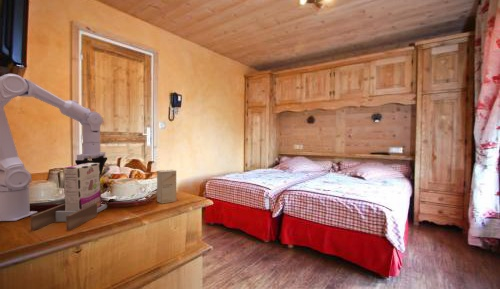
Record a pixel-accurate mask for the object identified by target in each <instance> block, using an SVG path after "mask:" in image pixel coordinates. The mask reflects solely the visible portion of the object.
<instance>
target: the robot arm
mask: <svg viewBox="0 0 500 289" xmlns="http://www.w3.org/2000/svg"><path fill="white" fill-rule="evenodd" d="M17 97H23V98H24V97H26V98H28V97H29V98H35V99H37V100H39V101H41V102H43V103H46V104H48V105H51V106H52V107H54V108H58V109H59V111H60V113H61V115H64V116H66V117H69V118H70V119H73V120H74V121H77V122H79V123H80V125H81V126H82V146H83V147H82V153H80V154H76V159H75V160H74V162H75V164H76V165H80V164H85V163H100V164H99V166H100V176H102V175H103V171H104V167H105V164H106V163H107V161H108V157H107V156H106V152H104V151H101V126H102V125H103V122H104V119H103V117H102V115H101V114H100V113H98V111H91V109H90V108H89V107H84V106H82V105H81V104H79V102H78V100H71V99H68V100H64V99H62V98H60V97H59V96H57V95H55V94H53V93H52V92H50V91H49V90H46V89H45V88H43V87H41V86H40V85H37V84H36V83H35V82H33V81H32V80H30V79H27V78H24V77H23V76H20V75H19V74H15V73H7V74H3V75H1V76H0V222H16V221H18V220H22V219H23V218H24V219H25V218H27V217H29V216H32V215H35V214H37V213H38V211H37V210H36V211H35V210H31V208H30V204H31V203H30V184H31V181H32V174H31V173H30V172H29V171H28V170H27V169H26V167H25V164H24V163H23V161H22V160H21V158H20V157H19V154H18V151H17V147H16V144H15V141H14V138H13V135H12V132H11V128H10V126H9V125H10V124H9V121H8V118H7V115H6V112H5V109H4V108H5V106H6V105H7V104H8V103H9V102H11V101H12V100H13V99H15V98H17Z"/></svg>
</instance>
